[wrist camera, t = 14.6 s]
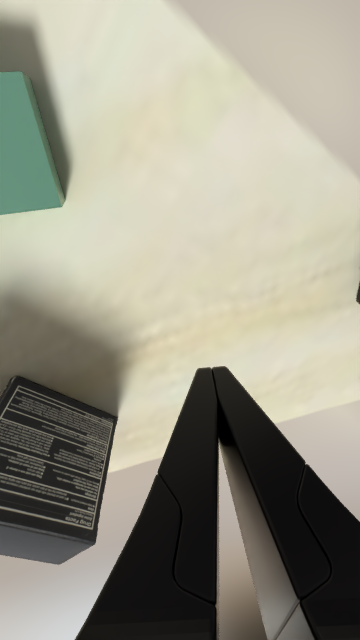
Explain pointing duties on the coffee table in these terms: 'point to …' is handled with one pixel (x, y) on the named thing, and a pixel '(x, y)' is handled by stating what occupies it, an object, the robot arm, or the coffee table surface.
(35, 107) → the tile
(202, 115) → the coffee table surface
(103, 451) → the small box
